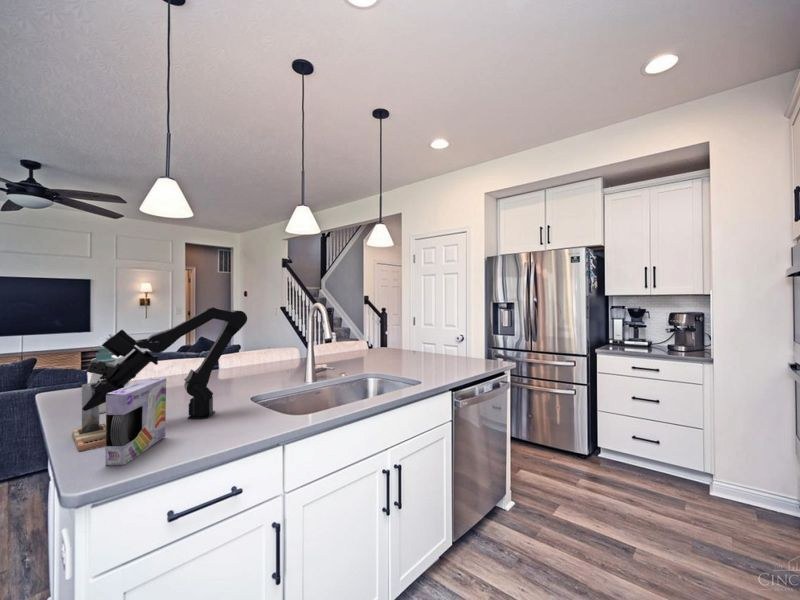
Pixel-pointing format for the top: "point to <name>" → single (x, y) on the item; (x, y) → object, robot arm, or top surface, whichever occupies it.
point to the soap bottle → (104, 357)
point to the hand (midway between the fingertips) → (84, 408)
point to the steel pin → (92, 415)
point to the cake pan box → (134, 419)
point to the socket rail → (90, 438)
